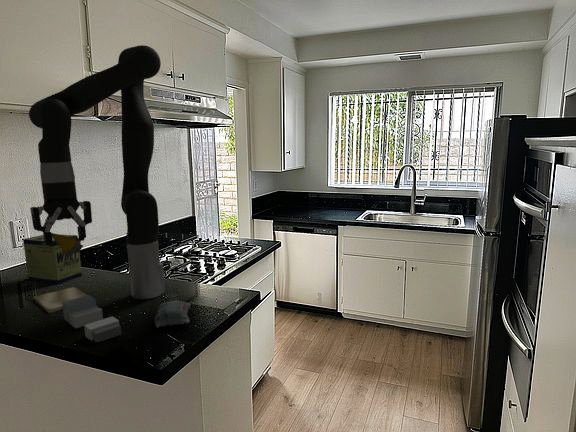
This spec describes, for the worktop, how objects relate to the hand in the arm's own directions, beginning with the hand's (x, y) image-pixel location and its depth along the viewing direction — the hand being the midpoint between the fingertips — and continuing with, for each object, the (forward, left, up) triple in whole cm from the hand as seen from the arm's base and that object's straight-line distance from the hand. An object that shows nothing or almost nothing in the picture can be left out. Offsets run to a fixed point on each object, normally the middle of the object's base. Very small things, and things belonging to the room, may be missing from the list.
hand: (66, 243), depth 108 cm
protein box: (-9, -49, -22) cm, 54 cm away
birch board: (-3, -21, -22) cm, 30 cm away
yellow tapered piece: (-1, 0, -4) cm, 4 cm away
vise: (-2, +7, -22) cm, 23 cm away
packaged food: (-18, +21, -22) cm, 35 cm away
